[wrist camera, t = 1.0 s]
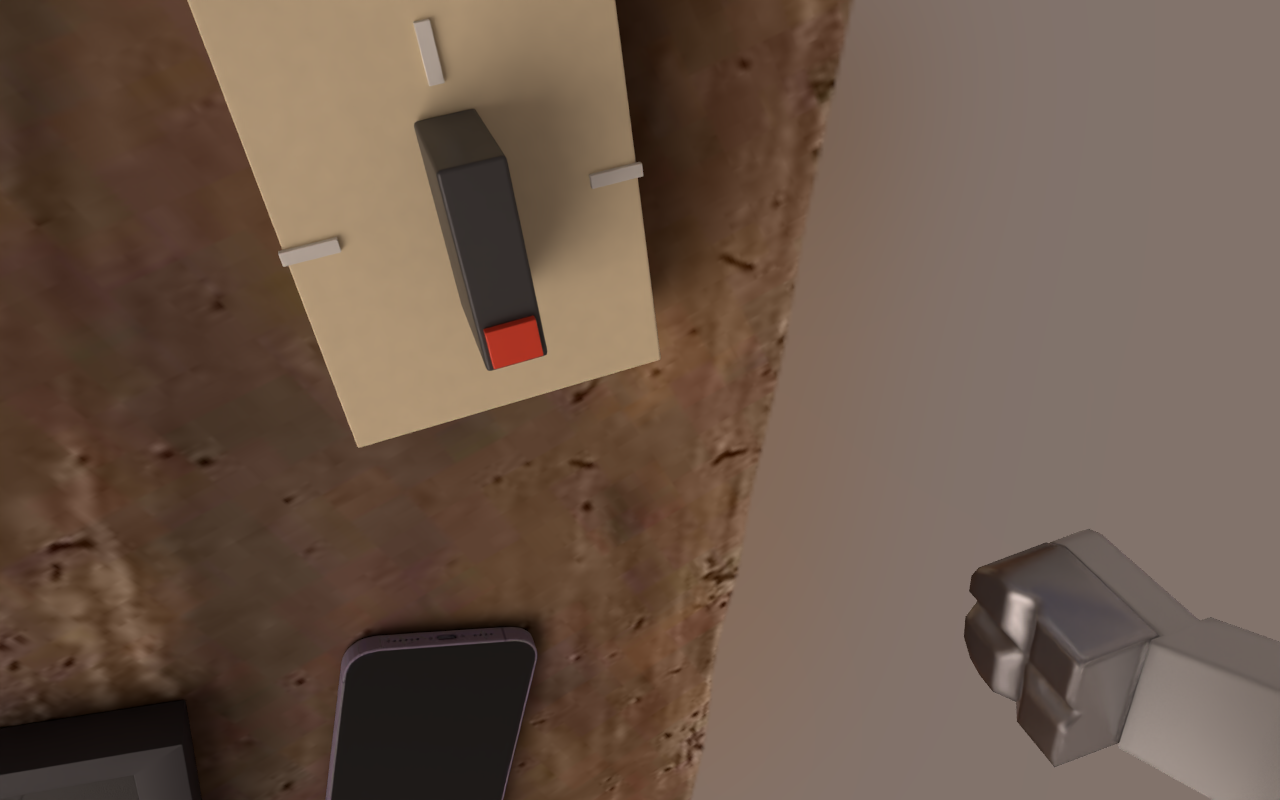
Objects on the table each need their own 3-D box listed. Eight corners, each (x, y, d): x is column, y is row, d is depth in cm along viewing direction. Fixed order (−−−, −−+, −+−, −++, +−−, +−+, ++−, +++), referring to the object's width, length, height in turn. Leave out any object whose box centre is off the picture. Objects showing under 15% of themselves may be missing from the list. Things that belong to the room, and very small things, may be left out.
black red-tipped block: (411, 120, 22) (437, 176, 19) (475, 106, 22) (509, 159, 19) (461, 306, 25) (489, 378, 22) (516, 291, 25) (551, 361, 22)
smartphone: (544, 637, 36) (483, 886, 43) (536, 616, 37) (478, 864, 44) (344, 651, 33) (313, 916, 40) (341, 629, 34) (311, 892, 41)
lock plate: (187, -31, 22) (178, -4, 19) (572, -104, 23) (611, -88, 21) (345, 393, 29) (354, 453, 26) (632, 312, 30) (666, 362, 28)
